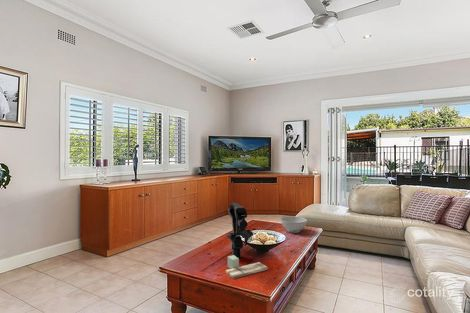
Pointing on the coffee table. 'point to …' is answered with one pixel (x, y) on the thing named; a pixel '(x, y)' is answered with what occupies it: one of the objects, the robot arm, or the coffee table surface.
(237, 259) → the block
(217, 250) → the coffee table surface
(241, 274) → the birch board
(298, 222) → the decorative bowl
